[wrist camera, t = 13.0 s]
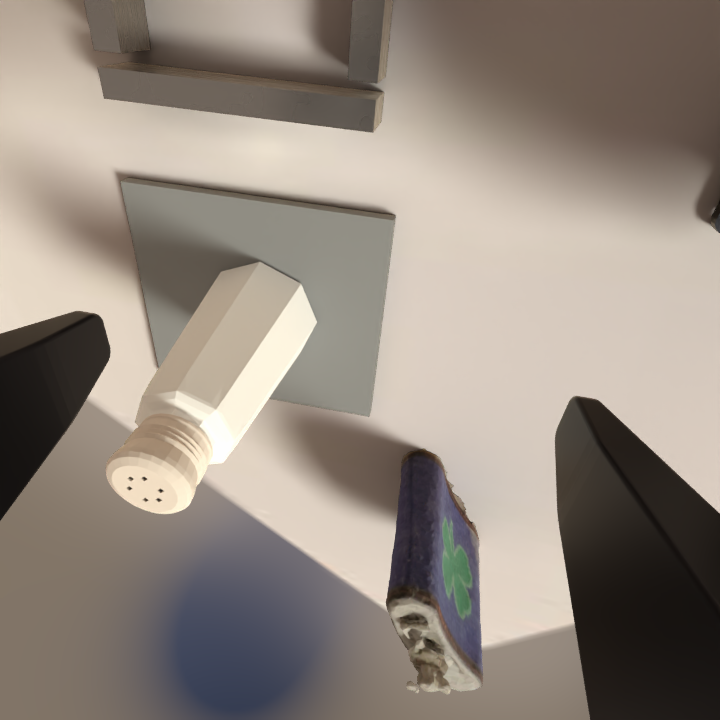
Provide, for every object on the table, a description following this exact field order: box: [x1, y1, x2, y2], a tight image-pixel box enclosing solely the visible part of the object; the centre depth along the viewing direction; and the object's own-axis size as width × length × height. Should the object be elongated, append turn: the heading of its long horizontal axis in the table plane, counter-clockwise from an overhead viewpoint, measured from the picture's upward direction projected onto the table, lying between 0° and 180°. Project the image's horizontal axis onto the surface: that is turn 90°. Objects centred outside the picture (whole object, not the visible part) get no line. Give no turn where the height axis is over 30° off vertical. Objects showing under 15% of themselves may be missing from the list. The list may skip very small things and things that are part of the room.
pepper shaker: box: [106, 262, 317, 514], centre depth 19 cm, size 5×5×11 cm
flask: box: [386, 449, 483, 694], centre depth 26 cm, size 9×3×11 cm, turn 25°
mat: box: [120, 178, 396, 417], centre depth 24 cm, size 12×11×1 cm
